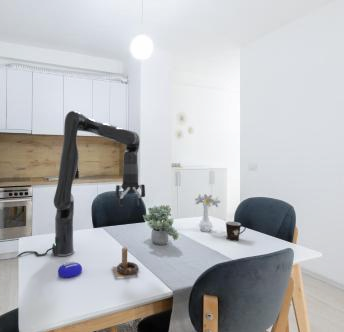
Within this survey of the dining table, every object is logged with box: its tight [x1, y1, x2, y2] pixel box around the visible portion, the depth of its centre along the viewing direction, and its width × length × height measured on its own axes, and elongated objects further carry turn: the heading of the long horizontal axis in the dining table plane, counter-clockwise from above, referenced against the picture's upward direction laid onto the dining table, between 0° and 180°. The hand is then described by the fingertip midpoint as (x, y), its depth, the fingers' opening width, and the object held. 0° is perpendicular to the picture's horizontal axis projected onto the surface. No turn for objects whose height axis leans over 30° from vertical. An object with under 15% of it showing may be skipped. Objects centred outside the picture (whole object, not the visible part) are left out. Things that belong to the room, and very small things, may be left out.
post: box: [112, 247, 138, 278], centre depth 109 cm, size 9×9×11 cm
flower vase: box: [194, 193, 221, 232], centre depth 170 cm, size 13×18×25 cm
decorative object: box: [57, 260, 83, 279], centre depth 107 cm, size 10×6×10 cm
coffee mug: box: [225, 220, 246, 242], centre depth 152 cm, size 12×9×10 cm
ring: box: [116, 261, 140, 276], centre depth 109 cm, size 10×10×2 cm
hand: (130, 205), depth 118 cm, fingers open, 8 cm apart
